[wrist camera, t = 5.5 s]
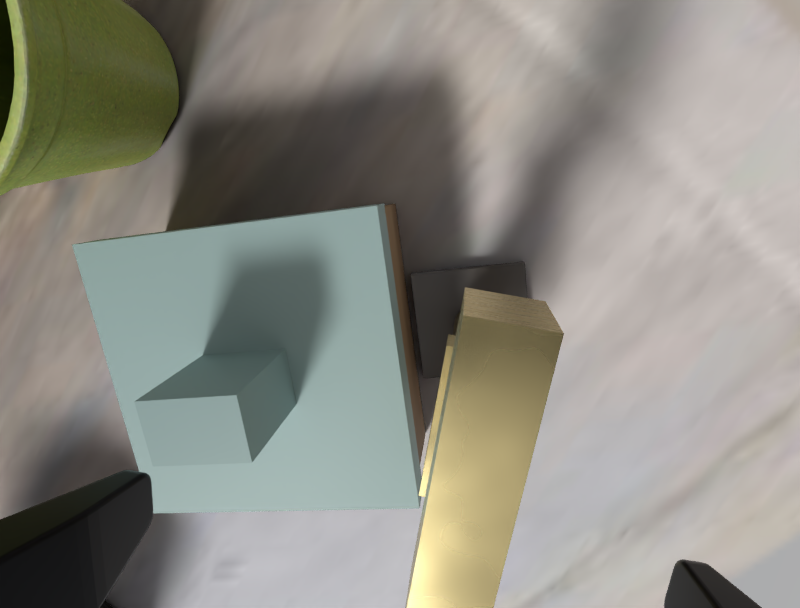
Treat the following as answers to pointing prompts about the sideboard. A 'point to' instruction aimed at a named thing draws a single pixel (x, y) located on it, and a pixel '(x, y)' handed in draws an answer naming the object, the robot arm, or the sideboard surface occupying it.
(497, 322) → the key
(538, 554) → the sideboard surface
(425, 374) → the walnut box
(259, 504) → the lid
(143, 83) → the plant pot
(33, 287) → the sideboard surface
